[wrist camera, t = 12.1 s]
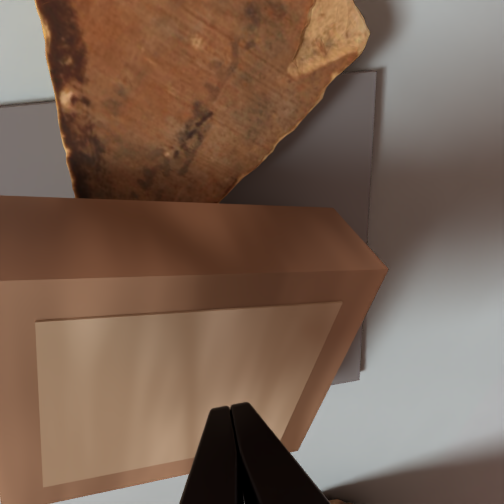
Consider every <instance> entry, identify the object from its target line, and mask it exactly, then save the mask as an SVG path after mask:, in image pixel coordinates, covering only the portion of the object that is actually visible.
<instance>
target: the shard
mask: <svg viewBox="0 0 504 504" xmlns="http://www.w3.org/2000/svg"><path fill="white" fill-rule="evenodd" d="M35 6H36V9H37V12H38V15H39V17H40V19H41V24H42V29H43V34H44V38H45V51H46V60H47V64H48V69H49V73H50V77H51V81H52V85H53V89H54V93H55V100H56V107H57V114H58V123H59V128H60V133H61V138H62V143H63V147H64V149H65V152H66V164H67V167H68V170H69V173H70V177H71V182H72V189H73V191H74V195H75V198H85V199H111V200H138V201H165V202H192V203H220V201H221V200H222V199H223V198H224V197H225V196H226V195H227V194H228V193H229V192H230V191H231V190H232V189H233V188H234V187H235V186H236V185H237V184H238V183H239V182H240V181H241V180H242V179H243V178H244V177H245V176H246V175H248V174H249V173H250V172H252V171H253V170H254V169H256V168H257V167H258V166H259V165H260V164H261V163H262V162H263V161H264V160H265V159H266V158H267V157H268V155H270V154H271V153H272V152H273V151H274V149H275V147H276V146H277V144H278V142H279V141H281V140H282V139H283V138H284V137H285V136H286V135H288V134H290V133H291V132H293V131H294V130H295V129H296V127H297V126H298V125H299V123H300V122H301V121H302V120H303V119H304V118H305V117H306V116H307V114H308V113H309V112H310V111H311V110H312V109H313V108H314V107H315V106H316V105H317V104H318V103H319V102H320V101H321V100H322V99H323V96H324V93H325V90H326V87H327V86H328V85H329V84H330V83H331V82H332V81H333V80H334V79H335V78H336V77H337V76H338V75H339V74H340V73H342V72H343V71H344V70H345V69H346V68H347V67H348V66H349V65H350V64H351V63H353V62H354V61H355V60H356V59H357V58H358V57H359V56H360V55H361V54H362V52H363V50H364V48H365V45H366V43H367V40H368V38H369V36H370V31H369V29H368V27H367V26H366V23H365V20H364V17H363V16H362V14H361V12H360V11H359V9H358V8H357V7H356V6H355V4H354V1H353V0H35Z"/></svg>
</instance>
